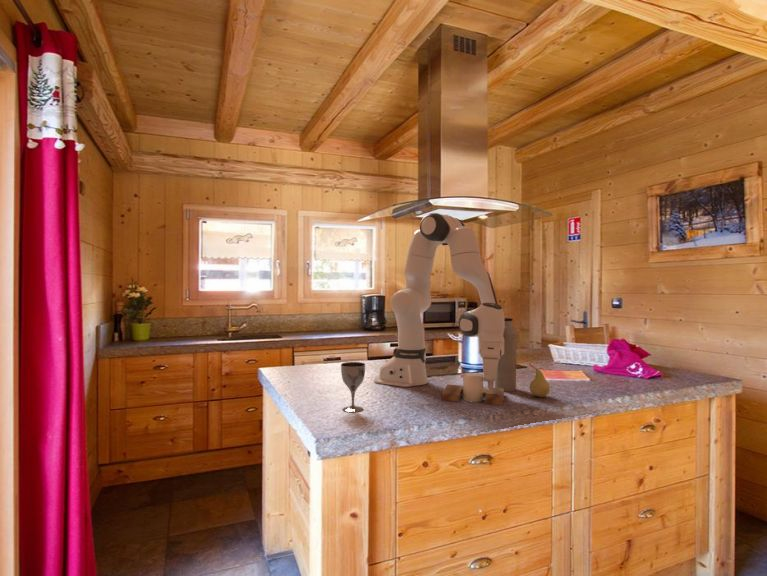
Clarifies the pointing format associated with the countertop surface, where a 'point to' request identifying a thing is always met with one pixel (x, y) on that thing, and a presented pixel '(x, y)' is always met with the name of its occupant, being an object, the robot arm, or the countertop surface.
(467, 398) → the beige ceramic cup
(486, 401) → the brown wooden board
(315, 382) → the countertop surface
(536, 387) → the fruit
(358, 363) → the wine glass
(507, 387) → the thermos bottle
